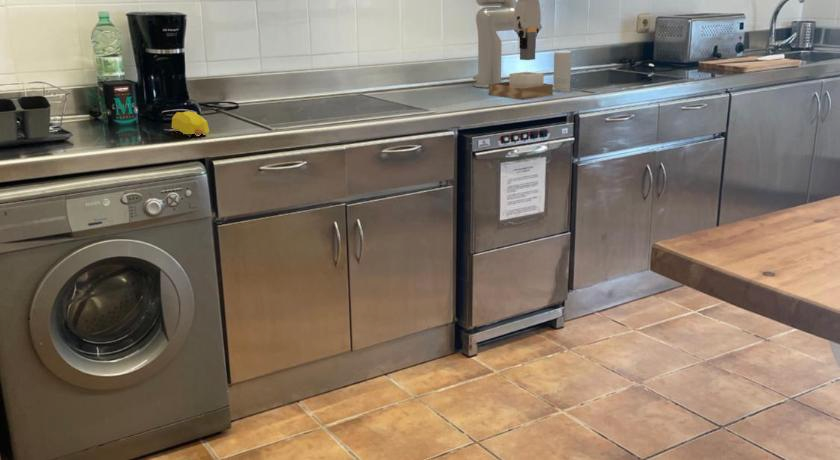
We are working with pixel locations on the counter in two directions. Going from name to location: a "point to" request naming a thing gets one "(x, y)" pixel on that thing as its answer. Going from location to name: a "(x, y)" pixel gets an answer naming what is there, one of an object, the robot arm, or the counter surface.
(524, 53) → the square peg
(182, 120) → the yellow lump
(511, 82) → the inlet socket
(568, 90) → the skincare box
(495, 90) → the crate
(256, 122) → the counter surface
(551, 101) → the counter surface
